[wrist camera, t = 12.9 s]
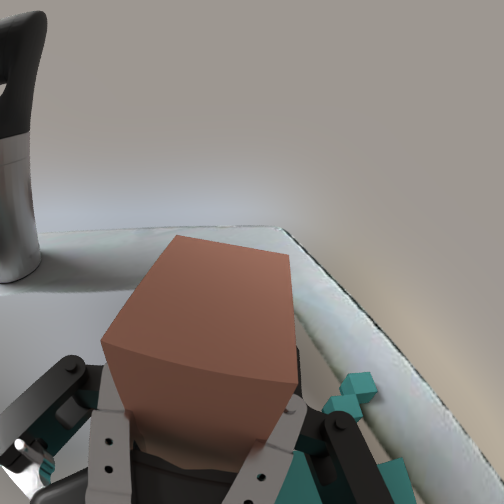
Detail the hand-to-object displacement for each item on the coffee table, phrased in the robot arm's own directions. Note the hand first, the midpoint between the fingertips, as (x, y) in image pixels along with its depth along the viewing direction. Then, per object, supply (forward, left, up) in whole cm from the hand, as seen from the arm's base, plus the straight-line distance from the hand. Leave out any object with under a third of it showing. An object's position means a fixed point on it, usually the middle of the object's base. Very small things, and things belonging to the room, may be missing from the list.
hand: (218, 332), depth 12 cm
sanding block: (-1, -3, -7) cm, 8 cm away
